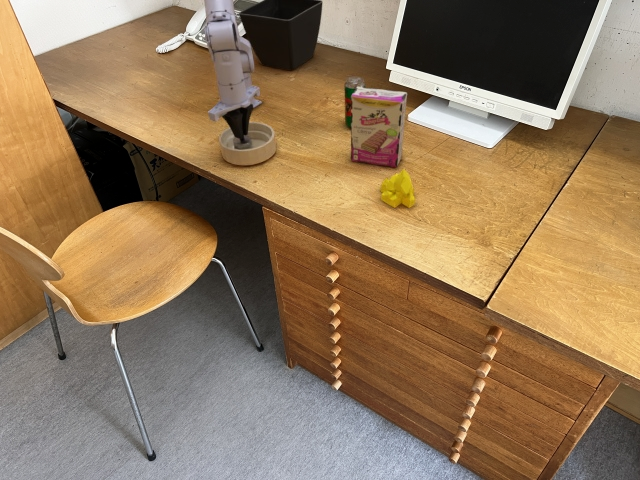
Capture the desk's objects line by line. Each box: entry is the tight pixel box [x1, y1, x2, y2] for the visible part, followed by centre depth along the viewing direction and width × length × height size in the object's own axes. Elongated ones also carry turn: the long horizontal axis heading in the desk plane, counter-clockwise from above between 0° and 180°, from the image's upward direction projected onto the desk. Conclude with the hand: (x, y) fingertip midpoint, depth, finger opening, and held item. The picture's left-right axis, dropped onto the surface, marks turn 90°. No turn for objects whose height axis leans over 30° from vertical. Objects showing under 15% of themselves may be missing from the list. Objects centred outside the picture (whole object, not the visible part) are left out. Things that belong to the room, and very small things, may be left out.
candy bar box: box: [350, 87, 408, 168], centre depth 105 cm, size 11×5×16 cm, turn 71°
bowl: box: [218, 121, 277, 166], centre depth 114 cm, size 13×13×4 cm
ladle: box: [233, 108, 253, 150], centre depth 110 cm, size 4×4×11 cm
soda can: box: [343, 76, 366, 129], centre depth 119 cm, size 5×5×12 cm
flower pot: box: [238, 0, 323, 71], centre depth 149 cm, size 19×19×17 cm
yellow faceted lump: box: [380, 168, 416, 209], centre depth 97 cm, size 6×8×8 cm
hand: (241, 135), depth 111 cm, fingers closed on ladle
